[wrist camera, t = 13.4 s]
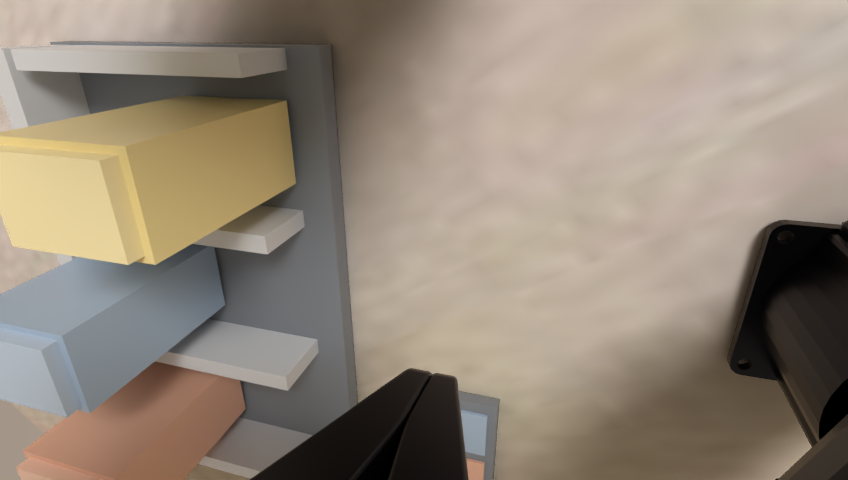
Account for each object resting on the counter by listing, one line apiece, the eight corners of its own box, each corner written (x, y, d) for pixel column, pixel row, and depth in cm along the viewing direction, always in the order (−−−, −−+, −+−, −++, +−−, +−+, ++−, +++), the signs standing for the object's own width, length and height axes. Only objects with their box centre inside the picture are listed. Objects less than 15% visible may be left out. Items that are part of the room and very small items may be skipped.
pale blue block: (225, 304, 26) (75, 424, 18) (147, 290, 27) (-23, 397, 19) (213, 243, 24) (45, 345, 17) (131, 232, 26) (-59, 322, 18)
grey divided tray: (361, 443, 29) (329, 502, 25) (168, 396, 32) (118, 442, 29) (331, 44, 20) (276, 50, 16) (70, 41, 23) (-20, 45, 20)
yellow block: (296, 183, 21) (139, 274, 14) (199, 174, 23) (8, 252, 15) (286, 100, 20) (106, 151, 12) (183, 95, 21) (-36, 139, 14)
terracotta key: (245, 408, 29) (123, 549, 21) (174, 391, 30) (35, 518, 22) (235, 359, 27) (101, 491, 20) (161, 343, 28) (8, 461, 21)
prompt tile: (492, 497, 27) (489, 509, 27) (431, 482, 28) (427, 493, 28) (499, 399, 25) (497, 409, 24) (431, 385, 25) (427, 395, 25)
